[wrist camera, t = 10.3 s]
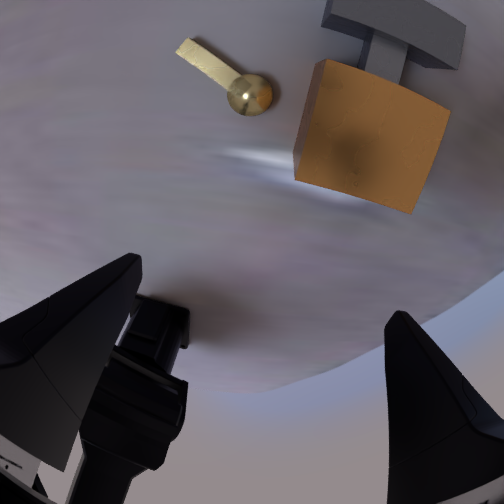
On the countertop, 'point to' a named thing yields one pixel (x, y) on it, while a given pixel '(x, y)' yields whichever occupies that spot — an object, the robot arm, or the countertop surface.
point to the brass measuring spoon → (230, 79)
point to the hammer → (398, 34)
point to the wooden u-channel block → (367, 136)
